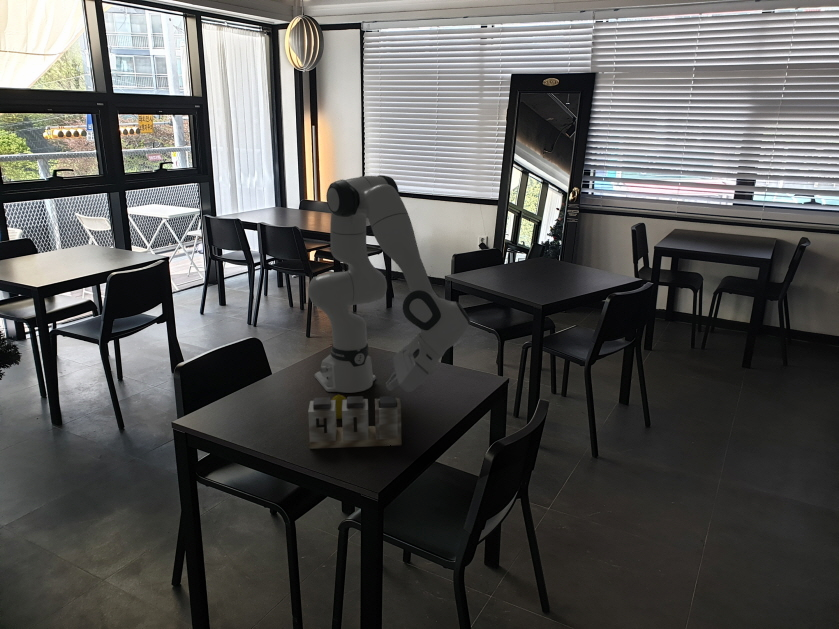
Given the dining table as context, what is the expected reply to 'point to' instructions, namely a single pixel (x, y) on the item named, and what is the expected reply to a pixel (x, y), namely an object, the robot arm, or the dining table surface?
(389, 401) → the plain button
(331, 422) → the button panel
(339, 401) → the lemon
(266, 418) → the dining table surface
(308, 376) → the dining table surface
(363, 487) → the dining table surface
